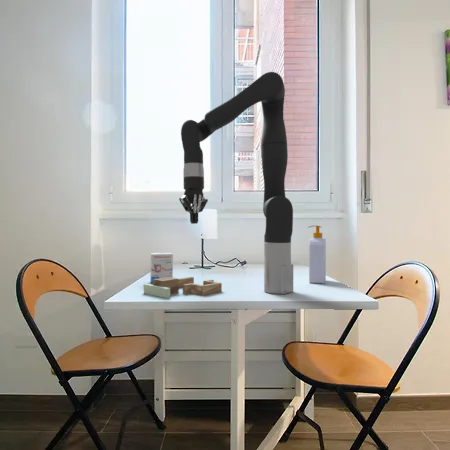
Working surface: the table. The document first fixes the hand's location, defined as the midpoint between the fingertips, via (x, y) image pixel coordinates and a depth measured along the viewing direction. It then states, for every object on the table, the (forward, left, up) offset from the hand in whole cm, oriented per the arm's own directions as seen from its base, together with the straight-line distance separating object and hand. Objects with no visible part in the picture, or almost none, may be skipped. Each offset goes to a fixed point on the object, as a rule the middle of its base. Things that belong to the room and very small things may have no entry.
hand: (194, 223), depth 130 cm
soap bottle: (-28, -42, -24) cm, 56 cm away
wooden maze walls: (-3, +3, -24) cm, 24 cm away
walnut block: (0, +13, -24) cm, 27 cm away
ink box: (+19, 0, -24) cm, 31 cm away
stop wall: (0, +17, -24) cm, 30 cm away
